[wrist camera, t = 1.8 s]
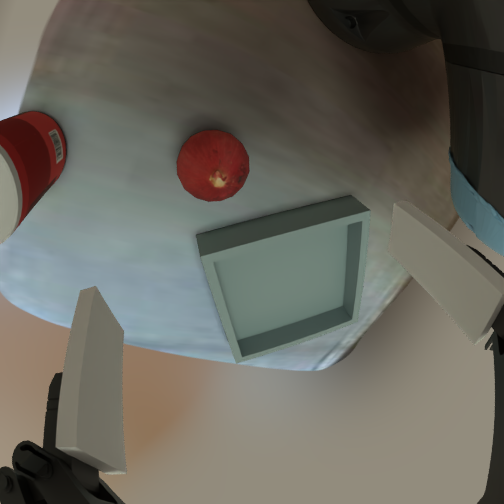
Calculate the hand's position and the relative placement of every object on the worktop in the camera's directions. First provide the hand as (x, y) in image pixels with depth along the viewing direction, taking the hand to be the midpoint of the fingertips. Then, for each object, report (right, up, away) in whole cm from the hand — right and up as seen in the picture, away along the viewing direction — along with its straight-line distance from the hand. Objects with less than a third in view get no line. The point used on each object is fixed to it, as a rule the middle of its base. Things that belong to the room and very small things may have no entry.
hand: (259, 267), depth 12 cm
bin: (+4, -2, +25) cm, 25 cm away
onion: (-4, +10, +14) cm, 18 cm away
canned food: (-21, +10, +9) cm, 25 cm away
